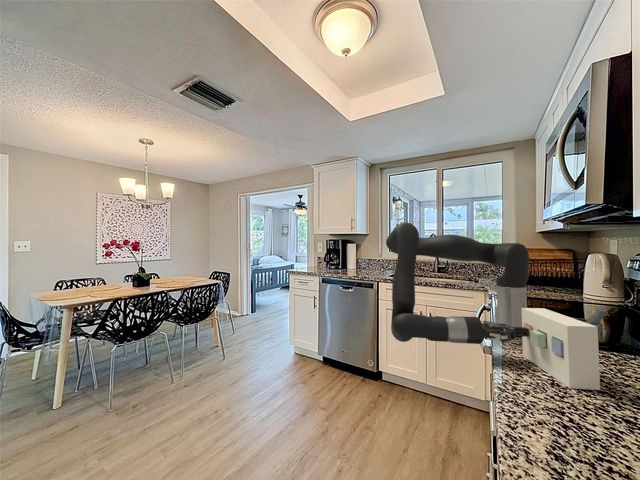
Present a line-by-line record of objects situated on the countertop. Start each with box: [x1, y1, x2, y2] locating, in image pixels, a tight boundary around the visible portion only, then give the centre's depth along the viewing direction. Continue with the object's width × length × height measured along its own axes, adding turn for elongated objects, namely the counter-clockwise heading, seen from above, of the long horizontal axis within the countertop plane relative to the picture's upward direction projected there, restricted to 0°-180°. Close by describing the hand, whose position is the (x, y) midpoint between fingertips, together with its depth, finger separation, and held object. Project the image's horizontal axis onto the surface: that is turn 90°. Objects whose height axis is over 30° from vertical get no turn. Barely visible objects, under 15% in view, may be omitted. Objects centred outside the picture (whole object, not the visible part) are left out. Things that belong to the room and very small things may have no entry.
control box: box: [521, 307, 601, 391], centre depth 72 cm, size 6×19×14 cm, turn 171°
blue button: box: [551, 338, 564, 356], centre depth 67 cm, size 2×3×3 cm, turn 170°
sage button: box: [530, 331, 546, 347], centre depth 73 cm, size 2×3×3 cm, turn 171°
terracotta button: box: [524, 325, 533, 339], centre depth 79 cm, size 2×3×3 cm, turn 171°
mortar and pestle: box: [573, 307, 609, 338], centre depth 92 cm, size 11×9×12 cm
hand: (527, 331), depth 79 cm, fingers closed
